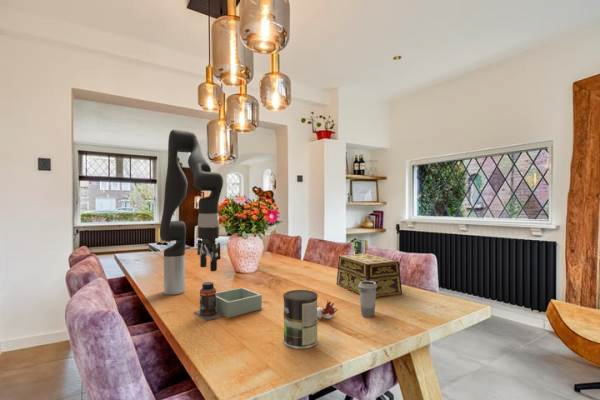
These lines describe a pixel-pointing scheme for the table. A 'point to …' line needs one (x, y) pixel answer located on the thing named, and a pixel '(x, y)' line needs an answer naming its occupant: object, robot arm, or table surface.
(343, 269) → the decorative box
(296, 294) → the coffee can
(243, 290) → the sage box
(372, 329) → the table surface
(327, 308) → the figurine
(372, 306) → the cup
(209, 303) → the supplement bottle
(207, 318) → the dark gray mat
